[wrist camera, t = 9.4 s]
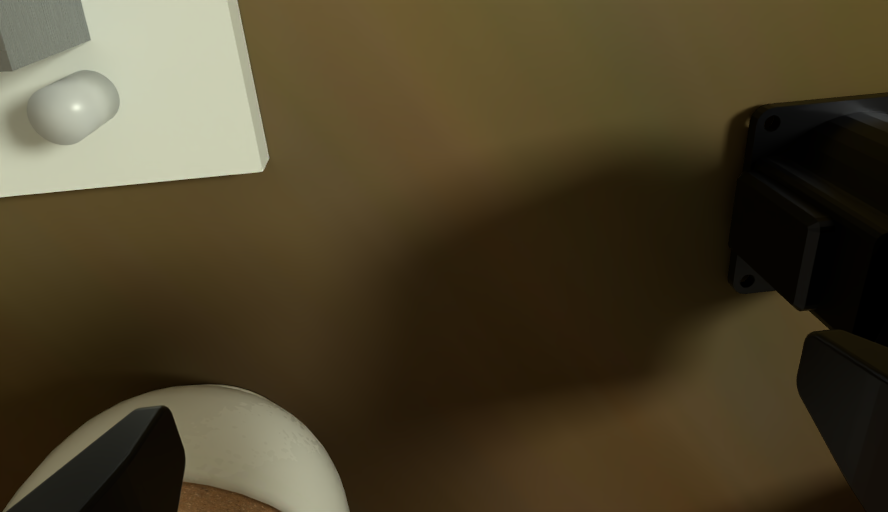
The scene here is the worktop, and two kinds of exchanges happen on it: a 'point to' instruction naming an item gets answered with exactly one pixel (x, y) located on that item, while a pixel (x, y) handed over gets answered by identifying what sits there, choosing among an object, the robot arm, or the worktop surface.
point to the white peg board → (134, 102)
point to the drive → (39, 30)
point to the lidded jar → (225, 452)
